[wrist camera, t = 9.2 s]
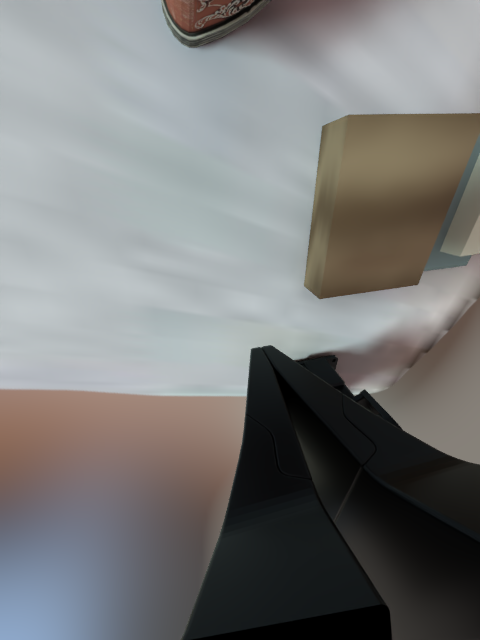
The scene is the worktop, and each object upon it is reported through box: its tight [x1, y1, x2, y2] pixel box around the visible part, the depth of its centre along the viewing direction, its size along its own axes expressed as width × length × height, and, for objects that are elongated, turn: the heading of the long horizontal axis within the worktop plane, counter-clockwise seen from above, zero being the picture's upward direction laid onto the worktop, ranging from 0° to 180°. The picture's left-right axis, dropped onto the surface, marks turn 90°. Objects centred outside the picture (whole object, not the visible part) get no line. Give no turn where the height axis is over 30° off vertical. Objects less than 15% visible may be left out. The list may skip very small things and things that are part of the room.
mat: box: [424, 134, 480, 271], centre depth 21 cm, size 12×9×1 cm
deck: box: [304, 113, 480, 299], centre depth 18 cm, size 12×10×3 cm
